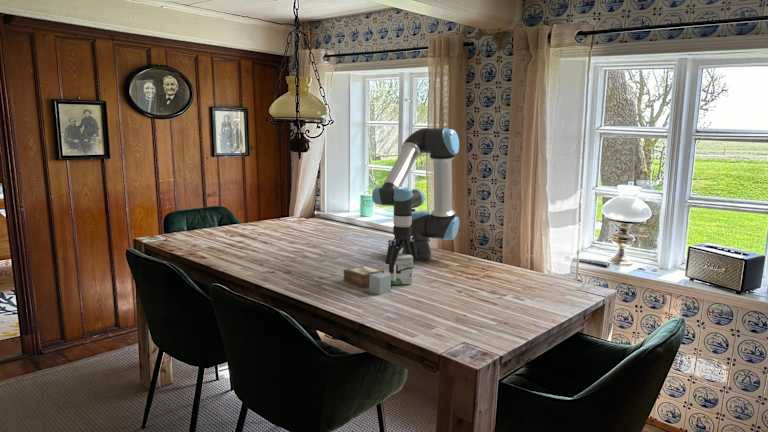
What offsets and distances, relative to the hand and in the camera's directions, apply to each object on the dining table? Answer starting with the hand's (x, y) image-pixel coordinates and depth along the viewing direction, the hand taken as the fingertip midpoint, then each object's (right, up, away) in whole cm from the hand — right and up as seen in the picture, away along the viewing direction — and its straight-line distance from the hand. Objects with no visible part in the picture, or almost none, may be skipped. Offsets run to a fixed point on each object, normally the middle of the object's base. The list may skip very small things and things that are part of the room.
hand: (401, 277), depth 223 cm
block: (-9, -4, -11) cm, 15 cm away
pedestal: (-16, -2, +2) cm, 16 cm away
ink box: (0, -2, 0) cm, 2 cm away
